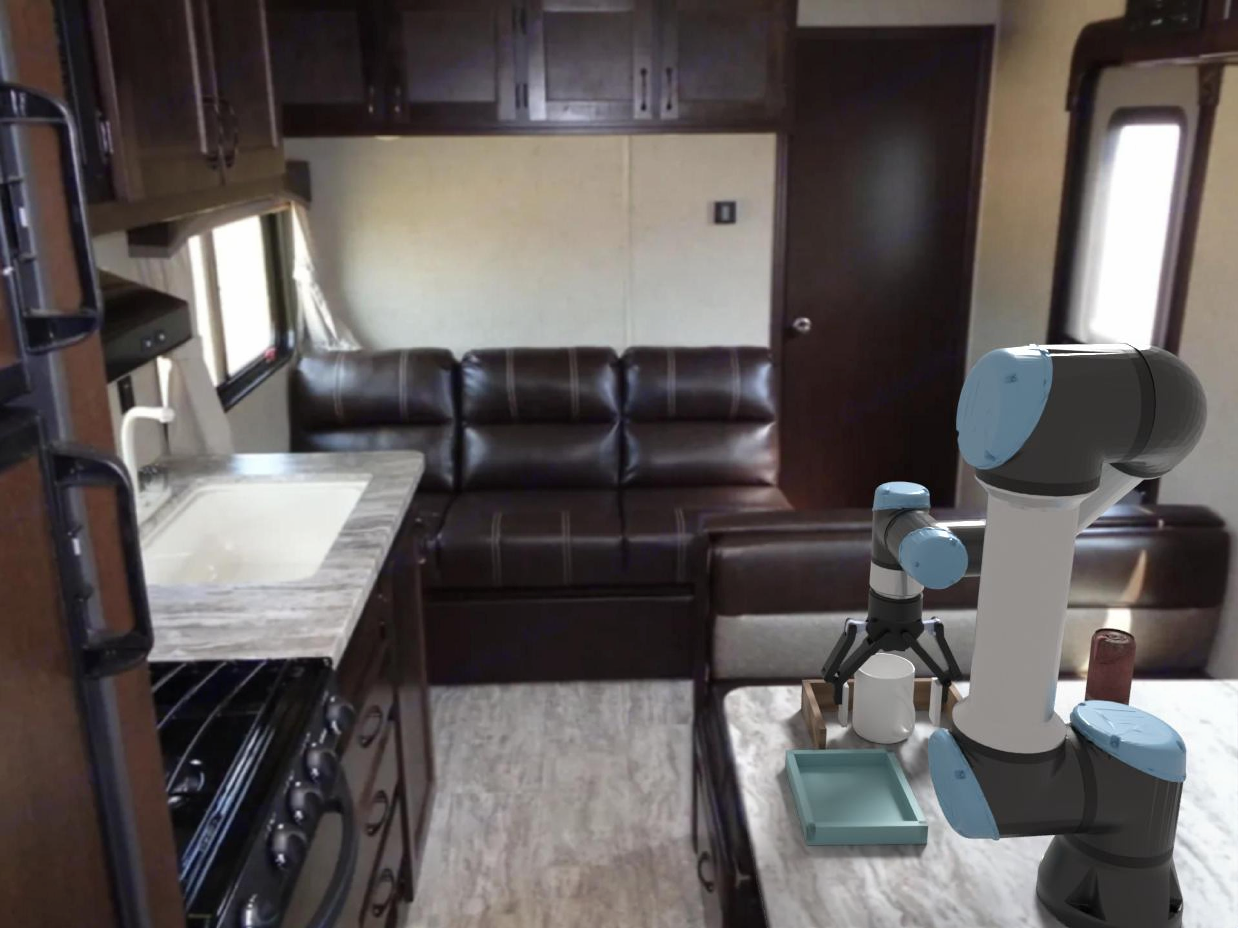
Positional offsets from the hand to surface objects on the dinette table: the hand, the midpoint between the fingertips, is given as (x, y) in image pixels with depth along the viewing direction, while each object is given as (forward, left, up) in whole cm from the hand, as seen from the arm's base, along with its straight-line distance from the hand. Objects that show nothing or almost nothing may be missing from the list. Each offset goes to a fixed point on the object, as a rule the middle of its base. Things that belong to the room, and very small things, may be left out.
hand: (888, 722), depth 154 cm
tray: (-17, +9, -2) cm, 19 cm away
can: (+4, -34, -2) cm, 34 cm away
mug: (0, 0, -2) cm, 2 cm away
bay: (+1, 0, -2) cm, 2 cm away
